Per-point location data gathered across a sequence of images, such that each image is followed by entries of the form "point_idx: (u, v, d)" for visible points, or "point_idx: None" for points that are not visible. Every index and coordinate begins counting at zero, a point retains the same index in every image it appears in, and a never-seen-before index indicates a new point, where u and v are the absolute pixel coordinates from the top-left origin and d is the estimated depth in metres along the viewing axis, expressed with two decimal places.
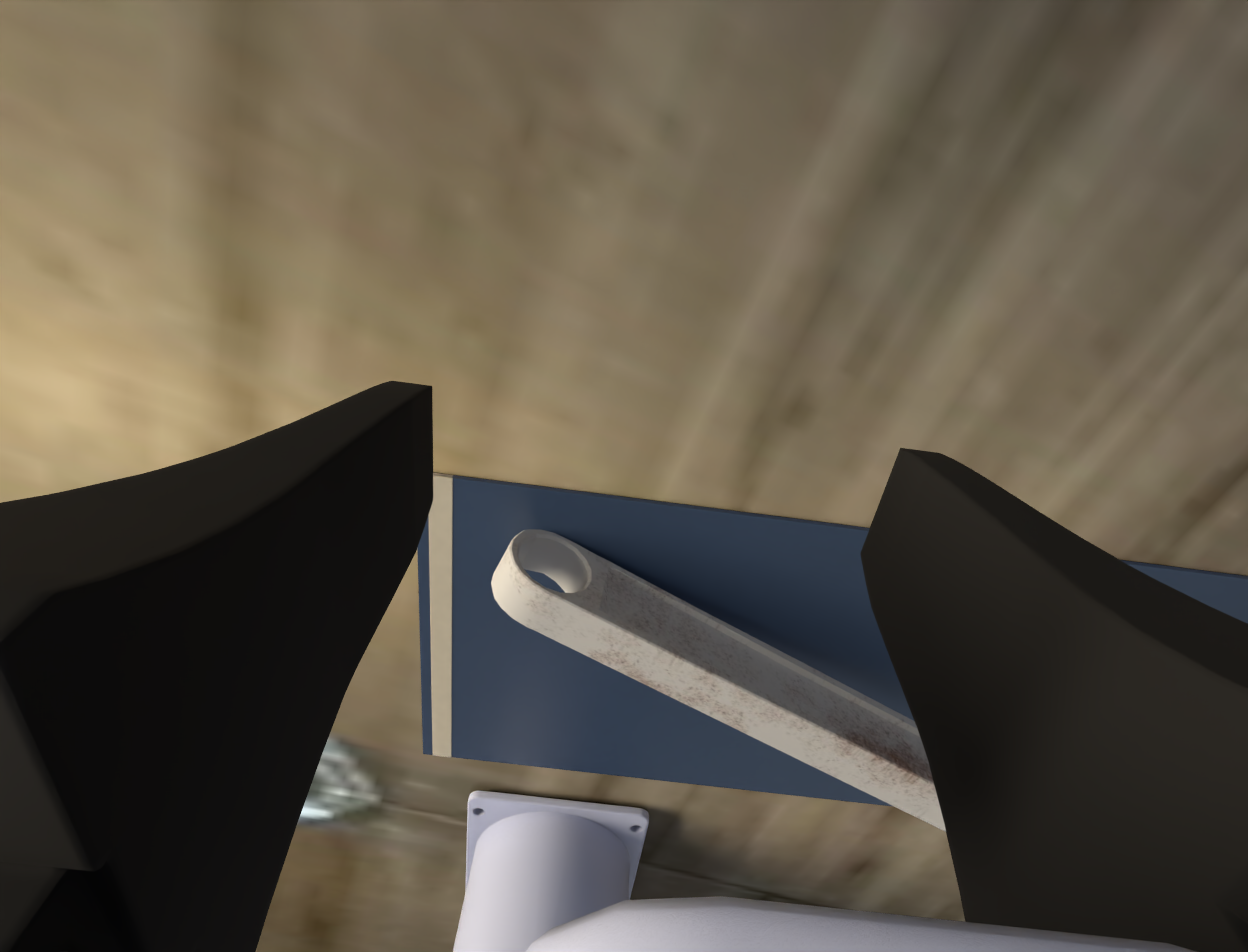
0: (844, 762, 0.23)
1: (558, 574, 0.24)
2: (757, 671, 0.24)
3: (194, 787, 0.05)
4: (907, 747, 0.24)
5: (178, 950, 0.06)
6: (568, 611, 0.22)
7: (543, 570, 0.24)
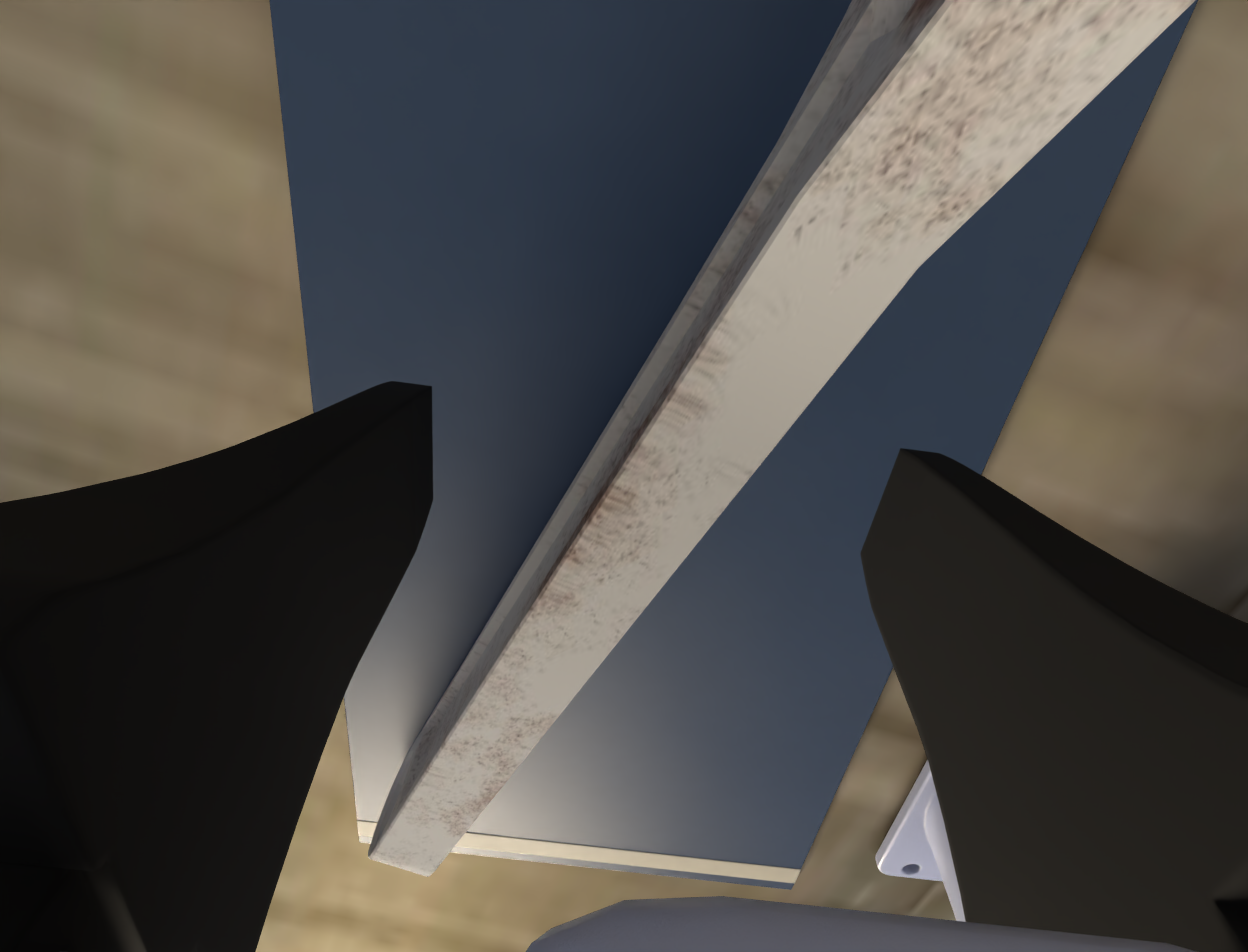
0: (595, 600, 0.12)
1: None
2: (501, 642, 0.15)
3: (194, 787, 0.05)
4: (635, 434, 0.11)
5: (178, 950, 0.06)
6: (394, 842, 0.17)
7: None
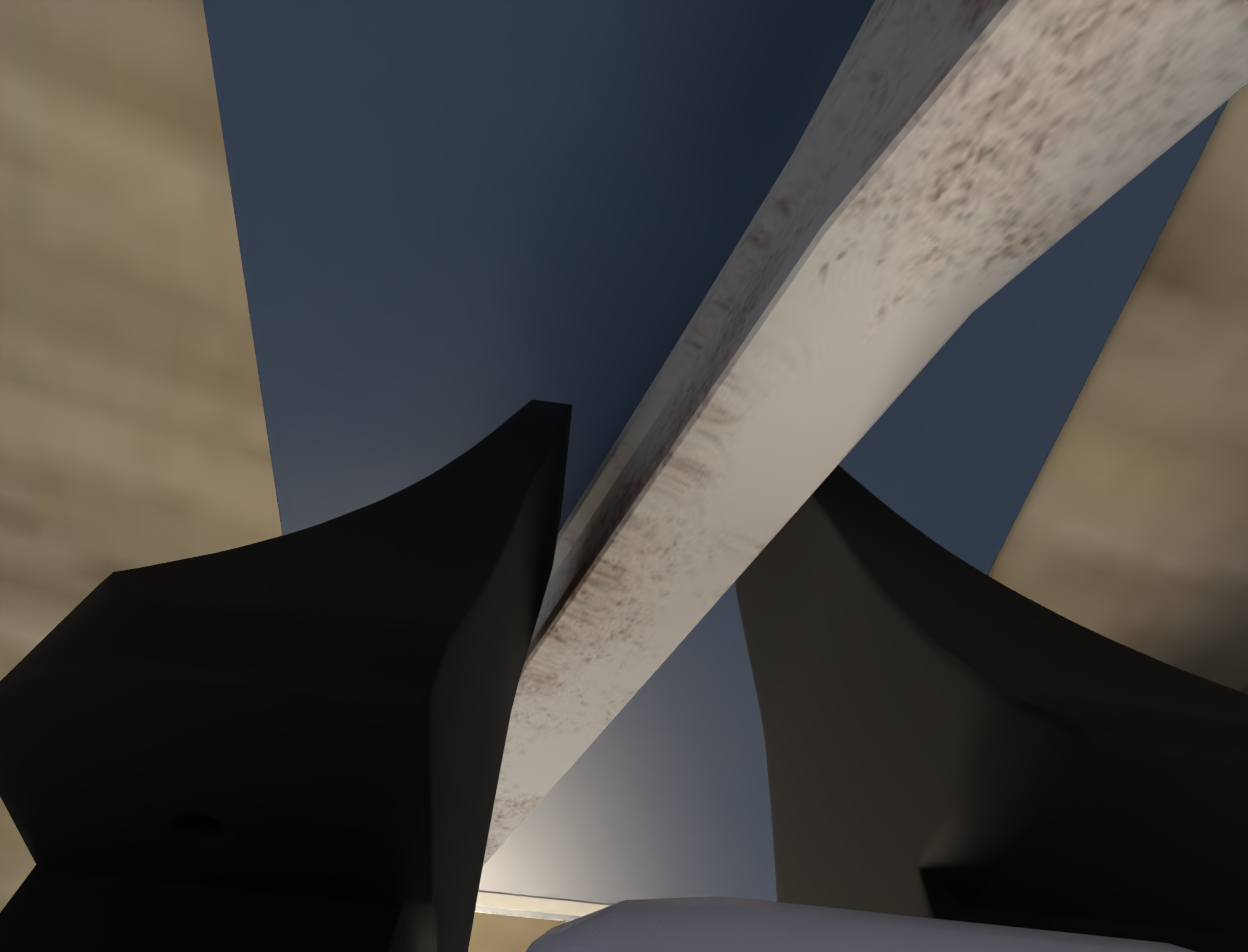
0: (581, 681, 0.10)
1: None
2: None
3: (464, 816, 0.06)
4: (626, 491, 0.10)
5: None
6: None
7: None
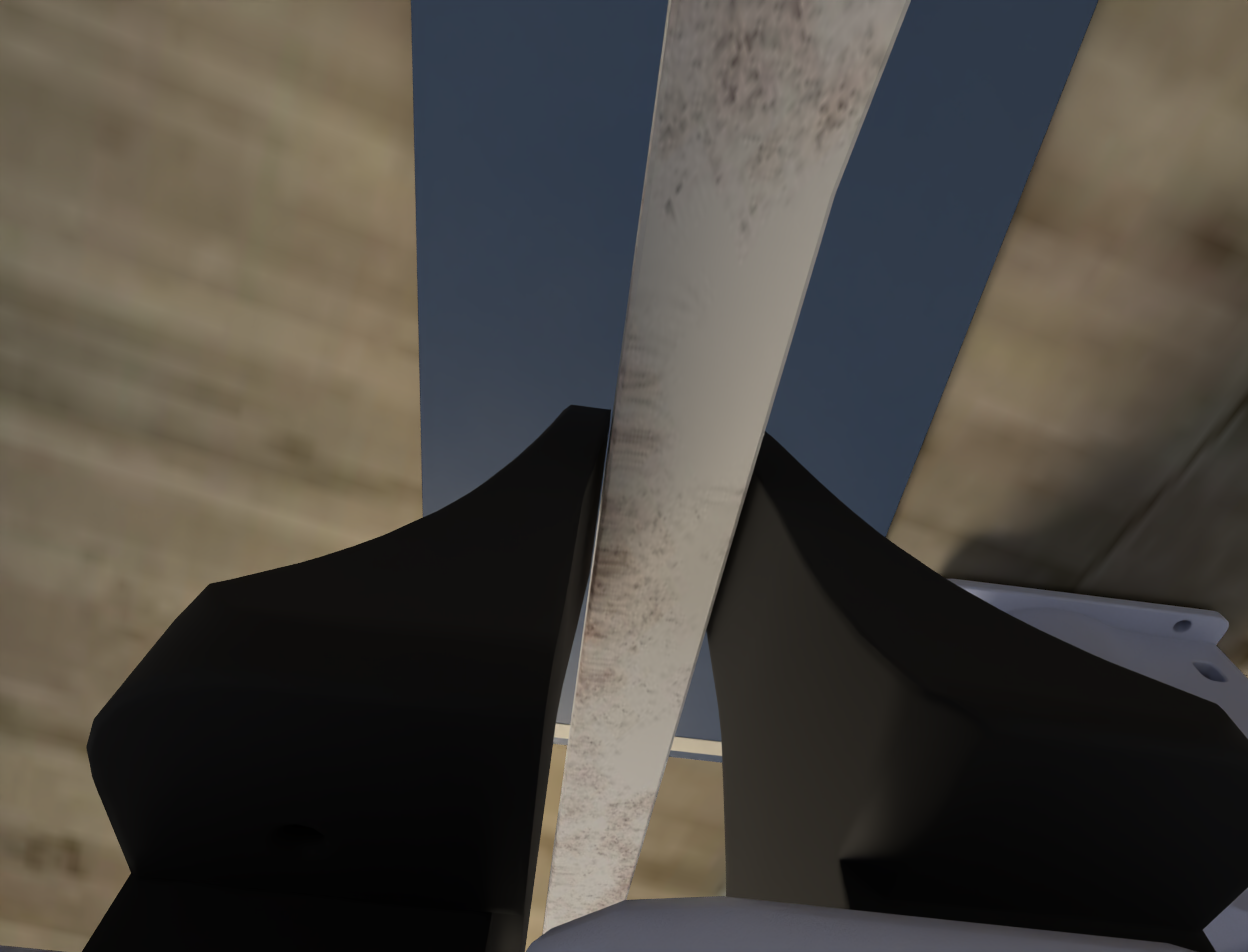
0: (638, 670, 0.10)
1: None
2: None
3: (538, 824, 0.06)
4: None
5: None
6: None
7: None
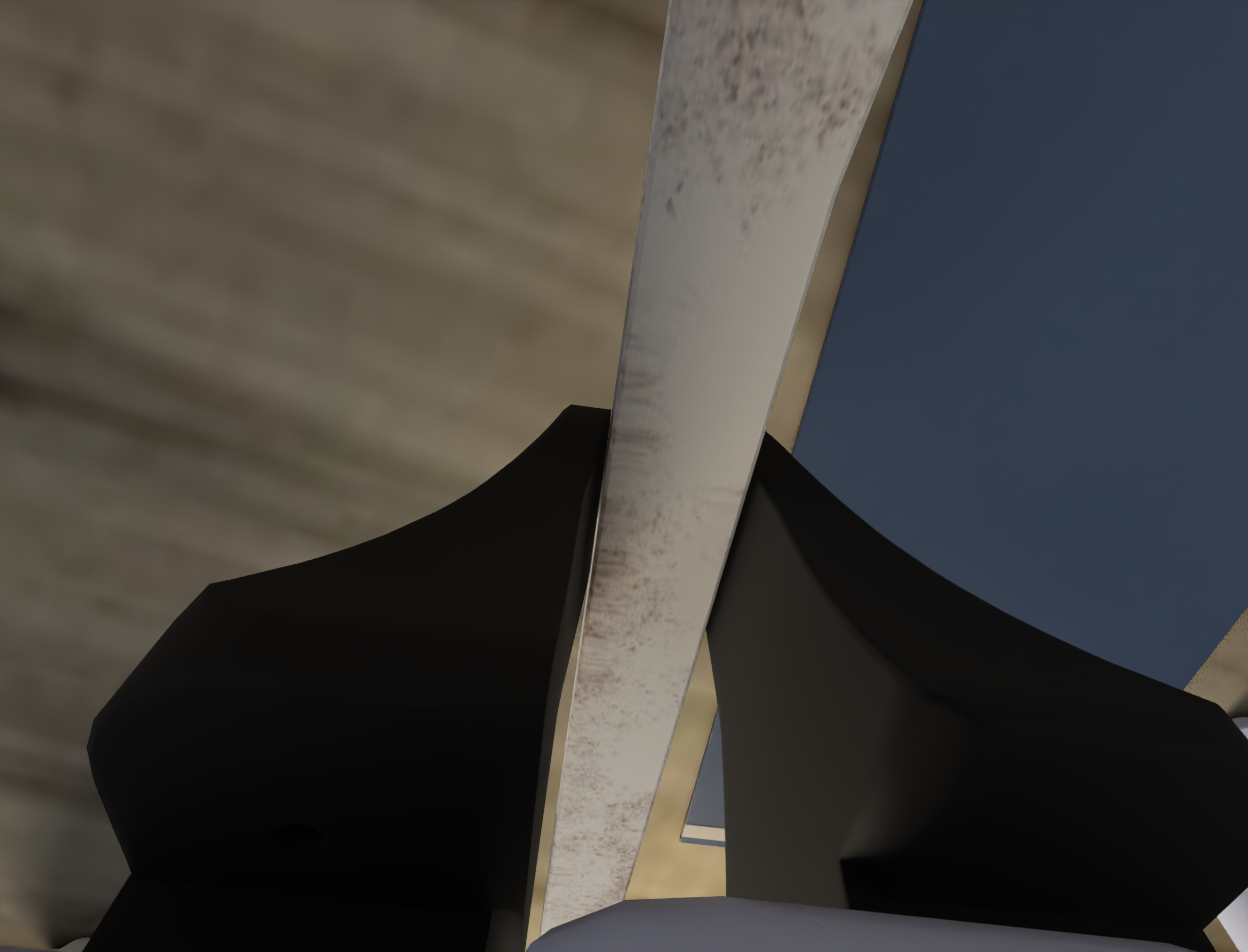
0: (636, 670, 0.10)
1: None
2: None
3: (537, 825, 0.06)
4: None
5: None
6: None
7: None
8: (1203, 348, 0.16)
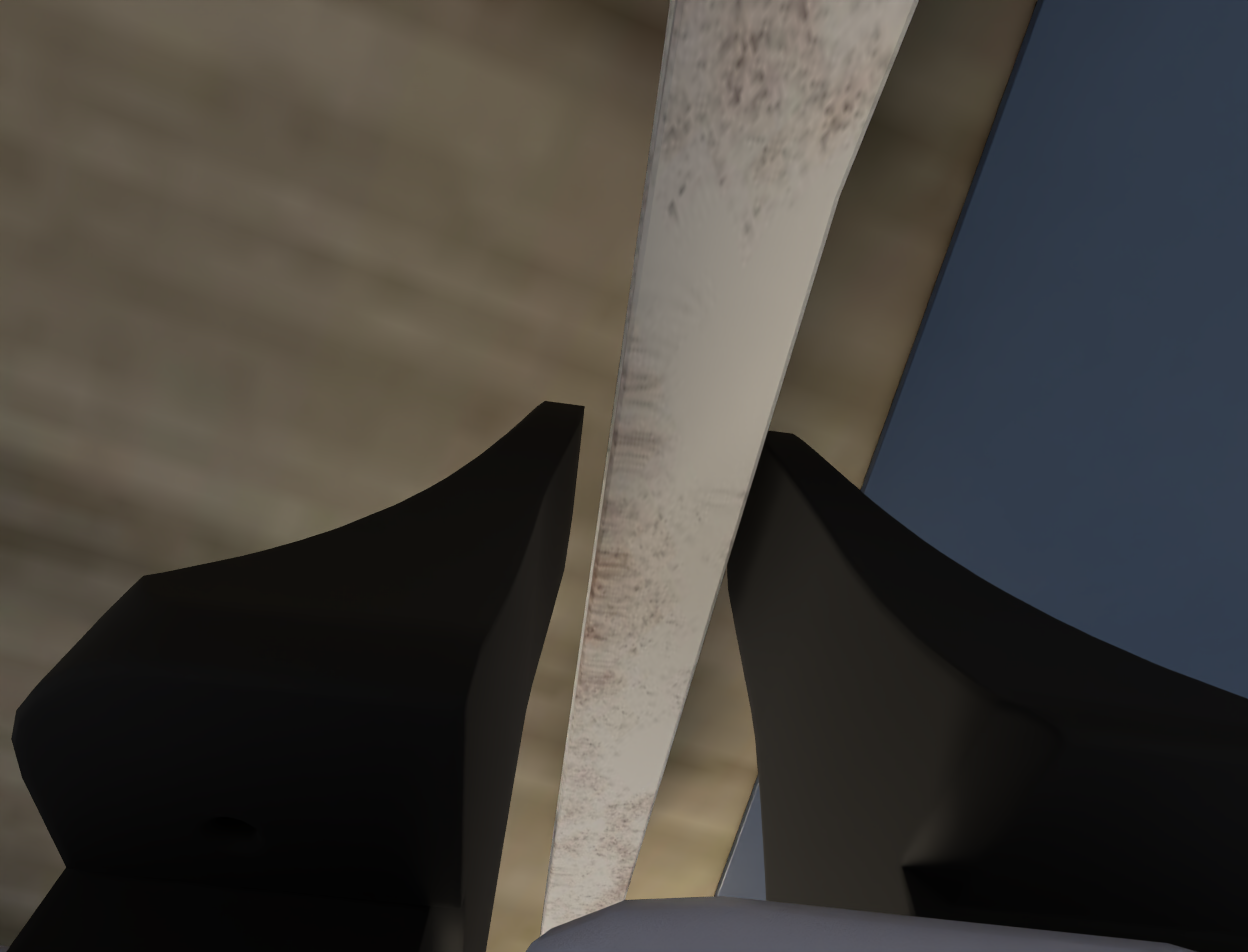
0: (638, 672, 0.10)
1: None
2: None
3: (487, 819, 0.06)
4: None
5: None
6: None
7: None
8: None
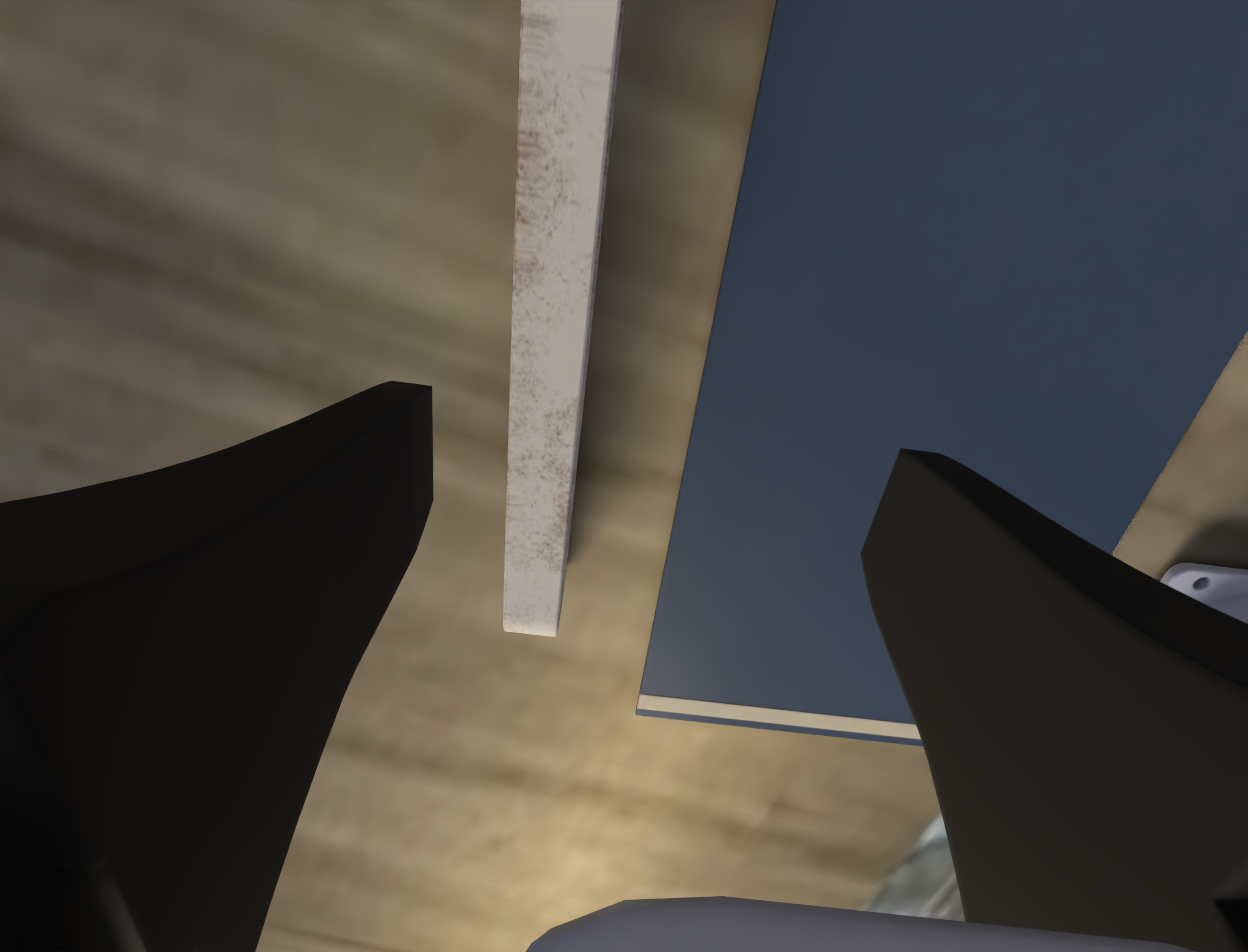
0: (554, 257, 0.14)
1: None
2: None
3: (193, 787, 0.05)
4: None
5: (177, 950, 0.06)
6: (514, 598, 0.21)
7: None
8: (1122, 142, 0.17)
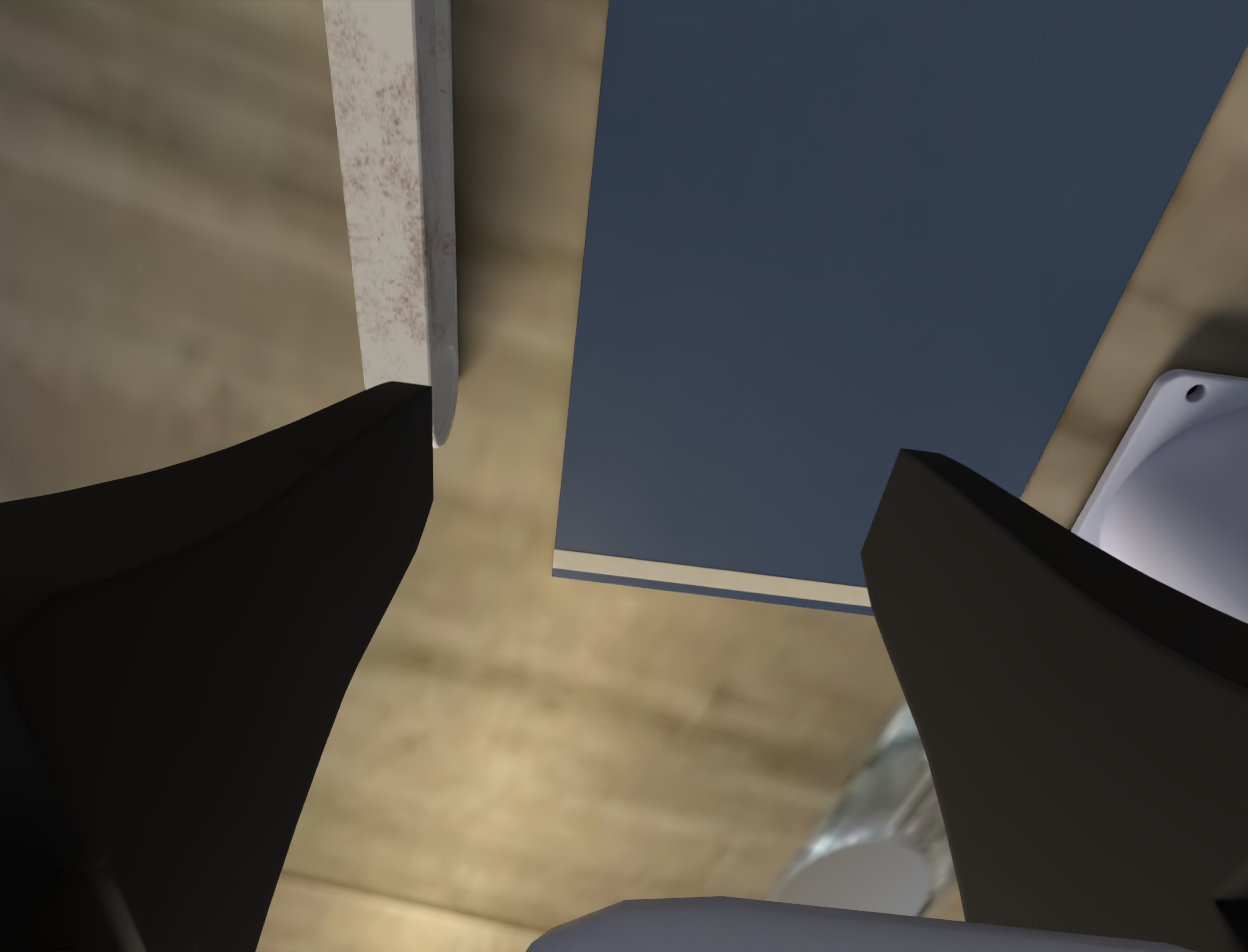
0: None
1: (442, 356, 0.20)
2: None
3: (193, 787, 0.05)
4: None
5: (177, 950, 0.06)
6: (376, 383, 0.17)
7: (448, 372, 0.20)
8: None
